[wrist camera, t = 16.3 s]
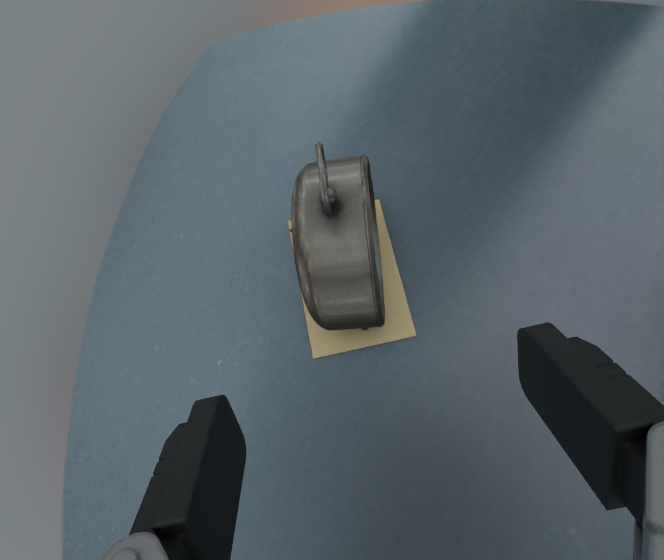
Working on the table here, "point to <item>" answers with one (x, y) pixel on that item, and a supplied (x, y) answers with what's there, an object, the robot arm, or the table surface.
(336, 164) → the alarm clock
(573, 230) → the table surface
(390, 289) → the mat
